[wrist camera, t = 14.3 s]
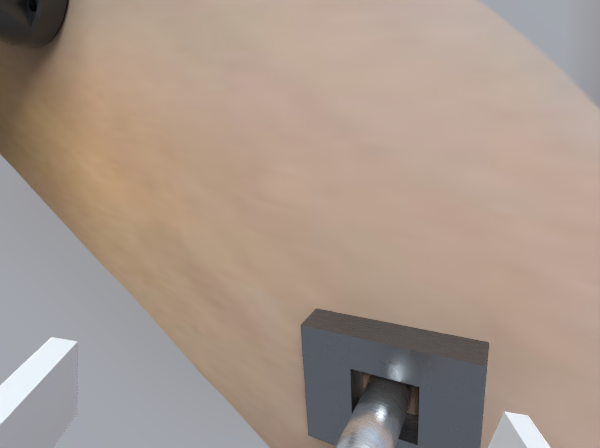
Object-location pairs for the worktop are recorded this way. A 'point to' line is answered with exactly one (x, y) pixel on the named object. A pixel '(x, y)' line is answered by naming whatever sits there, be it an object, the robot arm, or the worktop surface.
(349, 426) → the steel pin
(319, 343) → the plate
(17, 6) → the robot arm
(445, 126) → the worktop surface
